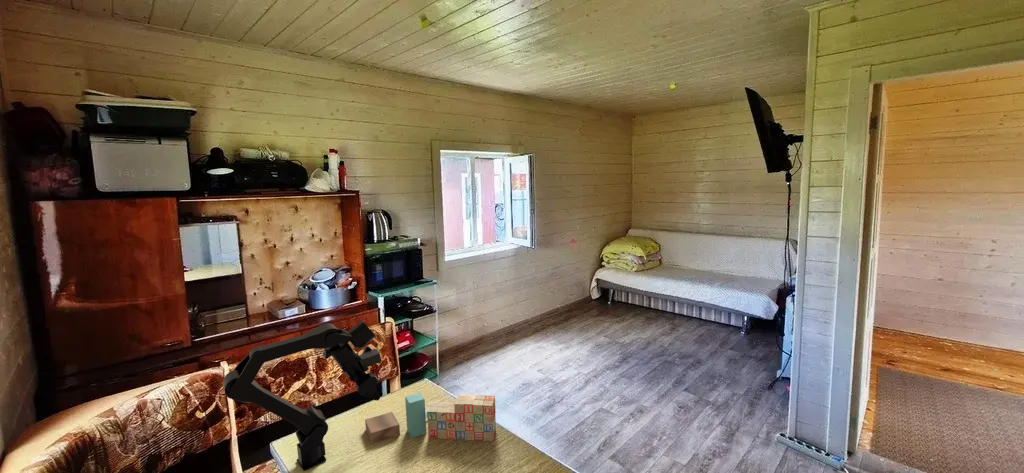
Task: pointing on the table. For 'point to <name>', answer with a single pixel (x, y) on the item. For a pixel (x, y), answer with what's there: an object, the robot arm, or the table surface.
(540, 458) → the table surface
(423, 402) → the teal block
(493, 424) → the stack of blocks
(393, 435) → the walnut block
